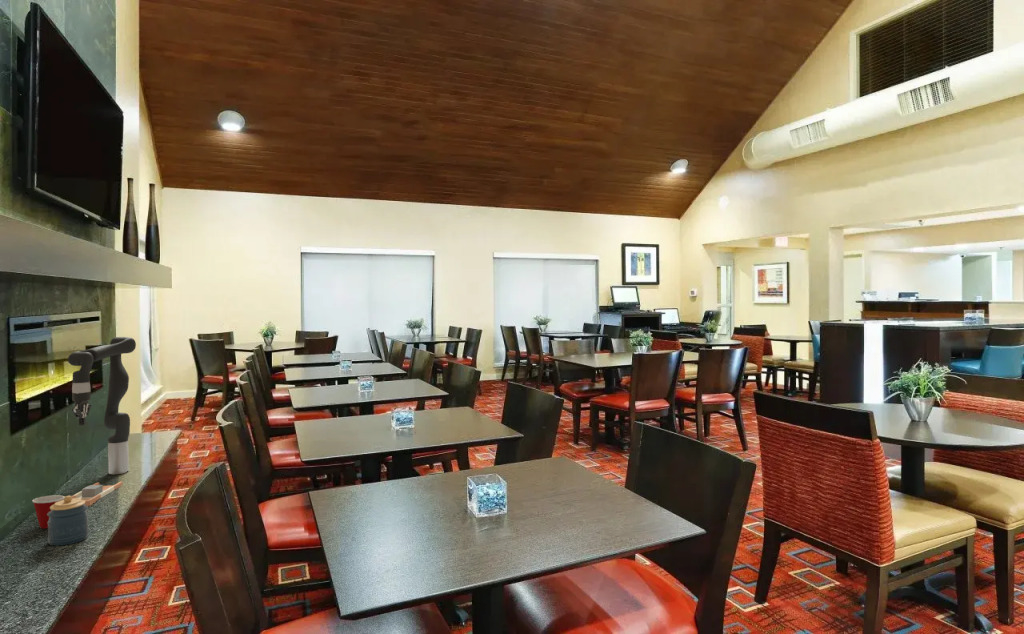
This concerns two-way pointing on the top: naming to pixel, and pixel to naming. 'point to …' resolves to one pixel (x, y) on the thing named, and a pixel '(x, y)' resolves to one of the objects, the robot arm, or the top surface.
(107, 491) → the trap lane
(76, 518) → the canister
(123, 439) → the robot arm
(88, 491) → the slate block
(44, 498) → the plastic cup
